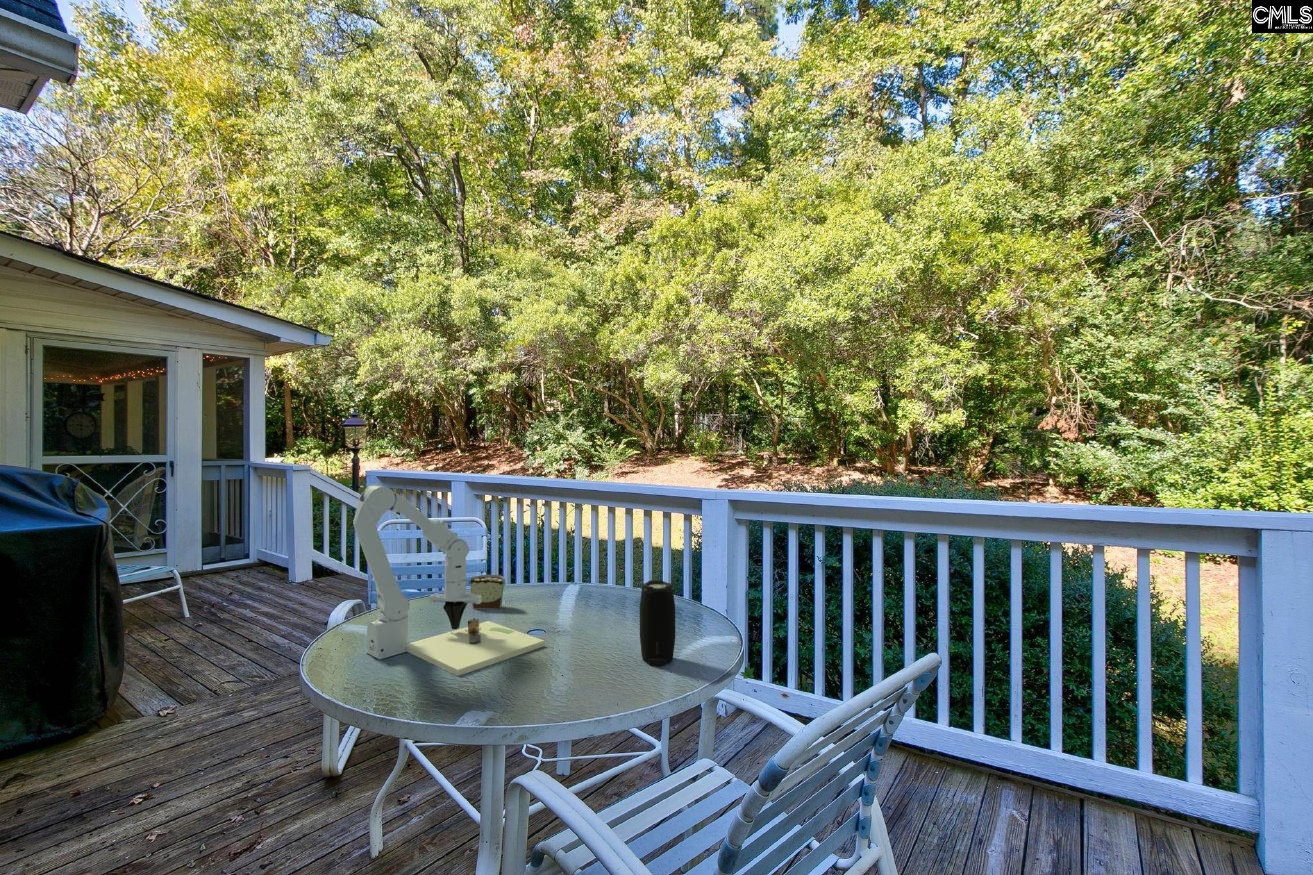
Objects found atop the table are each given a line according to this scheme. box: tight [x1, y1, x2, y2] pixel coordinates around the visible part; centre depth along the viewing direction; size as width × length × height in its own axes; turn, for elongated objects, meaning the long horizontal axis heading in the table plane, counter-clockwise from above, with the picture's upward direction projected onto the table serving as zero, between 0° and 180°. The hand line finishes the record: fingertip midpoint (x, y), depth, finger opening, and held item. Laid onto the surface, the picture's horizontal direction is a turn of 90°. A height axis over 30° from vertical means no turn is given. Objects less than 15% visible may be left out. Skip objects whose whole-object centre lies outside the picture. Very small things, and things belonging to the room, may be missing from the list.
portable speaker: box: [639, 579, 676, 667], centre depth 150 cm, size 9×9×20 cm
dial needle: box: [467, 618, 481, 643], centre depth 163 cm, size 12×3×3 cm, turn 20°
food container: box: [468, 574, 507, 610], centre depth 197 cm, size 12×6×10 cm, turn 84°
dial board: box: [406, 620, 545, 677], centre depth 159 cm, size 26×26×2 cm
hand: (455, 628), depth 167 cm, fingers closed
